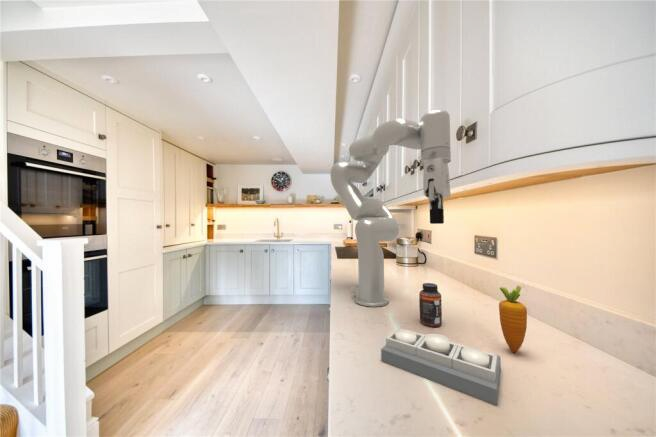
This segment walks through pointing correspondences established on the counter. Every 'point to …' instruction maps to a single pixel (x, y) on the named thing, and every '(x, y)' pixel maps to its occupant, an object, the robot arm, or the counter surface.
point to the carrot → (513, 319)
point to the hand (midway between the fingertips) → (436, 223)
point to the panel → (445, 367)
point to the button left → (406, 336)
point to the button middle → (437, 343)
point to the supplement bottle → (430, 305)
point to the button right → (475, 357)
